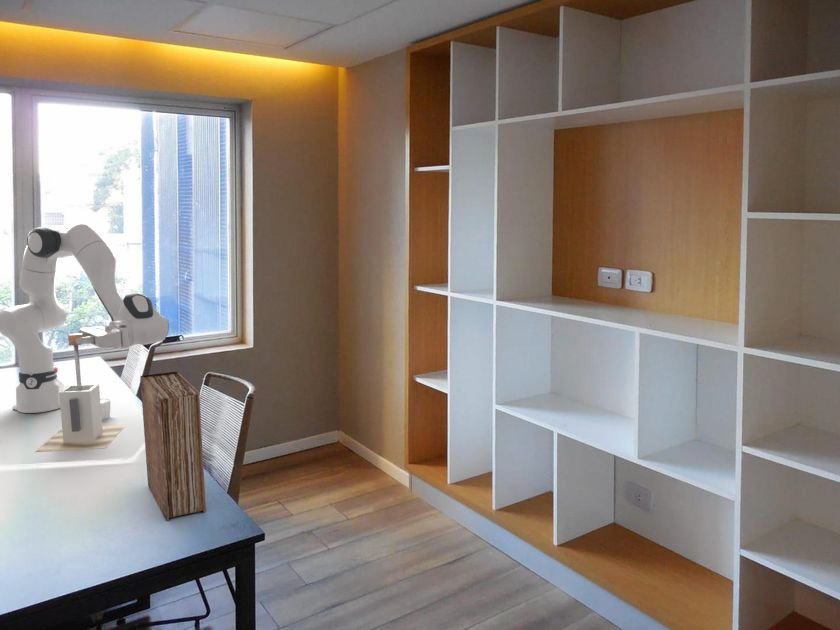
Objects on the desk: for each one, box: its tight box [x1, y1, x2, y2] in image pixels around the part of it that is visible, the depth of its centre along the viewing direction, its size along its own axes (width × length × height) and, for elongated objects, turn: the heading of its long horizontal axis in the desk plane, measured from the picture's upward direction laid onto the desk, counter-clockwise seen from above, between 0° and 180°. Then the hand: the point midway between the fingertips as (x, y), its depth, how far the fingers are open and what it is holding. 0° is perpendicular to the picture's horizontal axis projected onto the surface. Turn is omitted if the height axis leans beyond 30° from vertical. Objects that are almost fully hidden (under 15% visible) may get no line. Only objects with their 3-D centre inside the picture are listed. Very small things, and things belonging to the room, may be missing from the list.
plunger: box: [67, 333, 84, 391], centre depth 219 cm, size 6×6×24 cm
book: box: [140, 371, 207, 522], centre depth 175 cm, size 25×9×30 cm, turn 30°
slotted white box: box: [59, 383, 103, 443], centre depth 220 cm, size 11×9×16 cm
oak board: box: [35, 423, 127, 453], centre depth 222 cm, size 24×20×1 cm
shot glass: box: [100, 398, 111, 420], centre depth 243 cm, size 7×7×7 cm
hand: (72, 339), depth 217 cm, fingers open, 4 cm apart
